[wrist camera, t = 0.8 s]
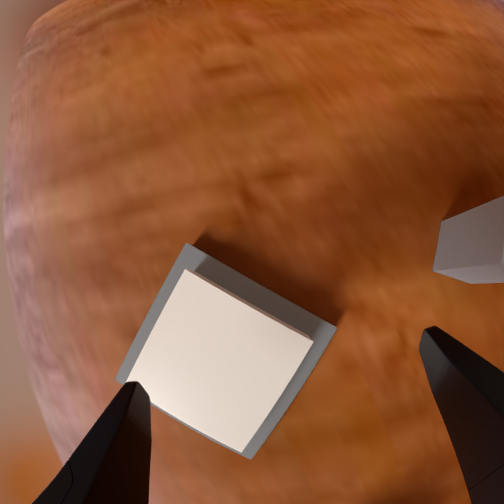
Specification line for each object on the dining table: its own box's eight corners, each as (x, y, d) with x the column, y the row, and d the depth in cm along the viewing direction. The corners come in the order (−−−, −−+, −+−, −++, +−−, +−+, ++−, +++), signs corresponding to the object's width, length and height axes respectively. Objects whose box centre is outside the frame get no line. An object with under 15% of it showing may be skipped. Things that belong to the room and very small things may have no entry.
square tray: (330, 323, 24) (337, 327, 21) (252, 445, 23) (250, 459, 20) (194, 246, 25) (186, 242, 22) (127, 371, 24) (114, 379, 22)
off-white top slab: (308, 335, 21) (313, 341, 19) (244, 436, 21) (241, 452, 18) (194, 270, 22) (185, 268, 20) (138, 375, 21) (124, 384, 19)
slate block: (477, 236, 23) (546, 217, 14) (470, 283, 22) (541, 280, 13) (441, 221, 23) (507, 194, 14) (432, 270, 23) (500, 263, 14)
